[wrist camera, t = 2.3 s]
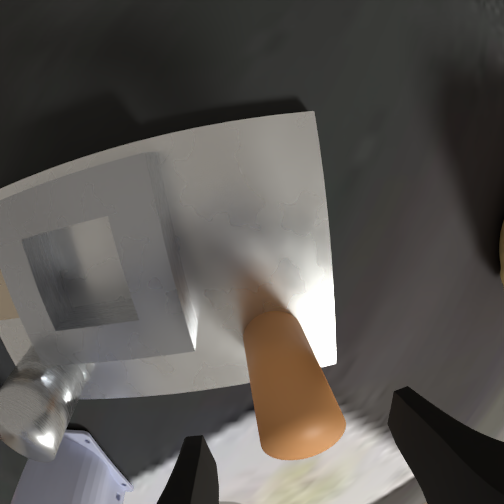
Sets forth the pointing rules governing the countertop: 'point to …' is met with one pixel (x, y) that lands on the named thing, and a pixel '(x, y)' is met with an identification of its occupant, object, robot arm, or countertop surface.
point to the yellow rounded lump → (502, 253)
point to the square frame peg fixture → (131, 258)
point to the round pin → (289, 389)
